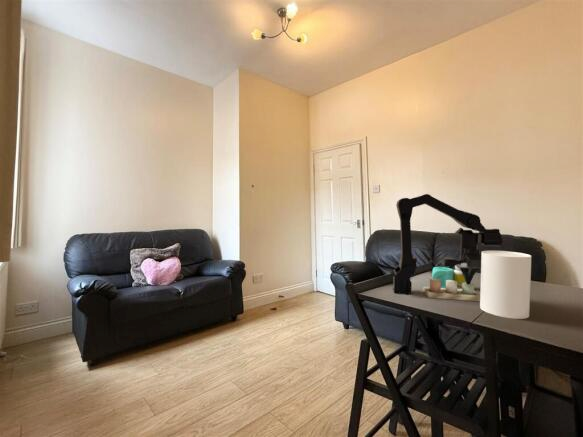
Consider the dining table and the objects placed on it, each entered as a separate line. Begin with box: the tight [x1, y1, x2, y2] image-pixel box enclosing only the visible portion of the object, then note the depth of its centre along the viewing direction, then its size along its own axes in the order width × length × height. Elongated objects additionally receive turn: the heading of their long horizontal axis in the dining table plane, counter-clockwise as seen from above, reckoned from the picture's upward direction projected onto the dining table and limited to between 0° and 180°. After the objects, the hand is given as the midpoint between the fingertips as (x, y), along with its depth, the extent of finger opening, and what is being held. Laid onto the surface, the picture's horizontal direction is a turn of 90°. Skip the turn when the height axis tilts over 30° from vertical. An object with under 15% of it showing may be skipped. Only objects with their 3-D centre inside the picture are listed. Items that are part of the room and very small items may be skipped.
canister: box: [479, 250, 532, 320], centre depth 96 cm, size 14×14×20 cm
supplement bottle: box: [453, 264, 466, 289], centre depth 123 cm, size 5×5×10 cm
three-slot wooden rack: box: [422, 286, 480, 302], centre depth 113 cm, size 19×10×2 cm, turn 75°
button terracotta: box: [429, 278, 441, 291], centre depth 114 cm, size 4×4×4 cm
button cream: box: [446, 280, 458, 293], centre depth 113 cm, size 4×4×4 cm
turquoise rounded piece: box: [431, 266, 454, 288], centre depth 126 cm, size 8×8×8 cm
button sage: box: [462, 282, 475, 295], centre depth 111 cm, size 4×4×4 cm
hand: (468, 284), depth 111 cm, fingers closed, pressing on button sage
